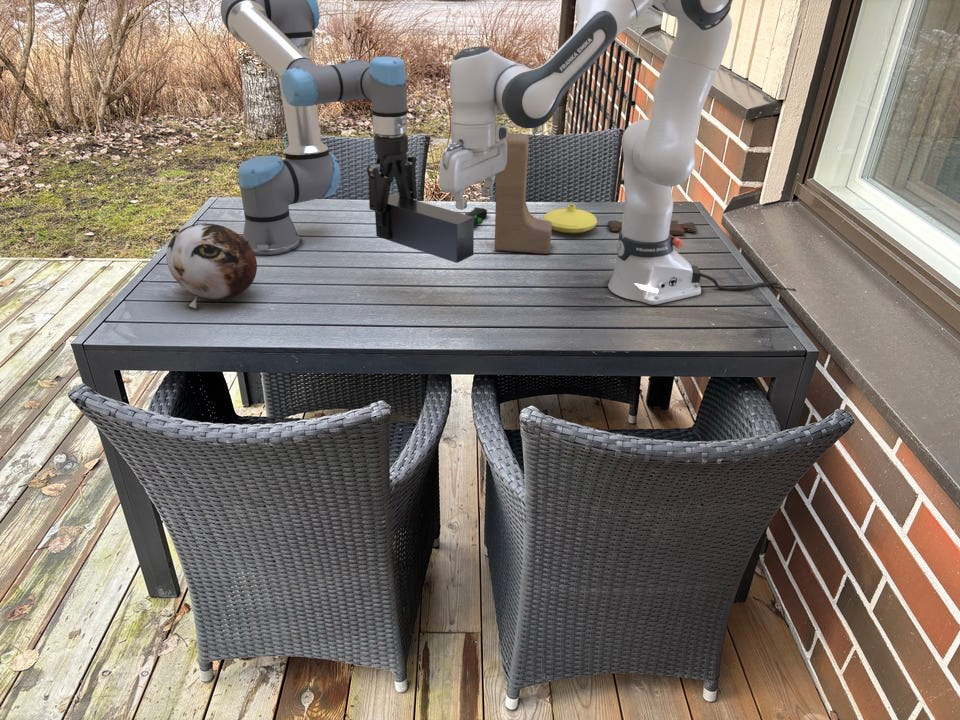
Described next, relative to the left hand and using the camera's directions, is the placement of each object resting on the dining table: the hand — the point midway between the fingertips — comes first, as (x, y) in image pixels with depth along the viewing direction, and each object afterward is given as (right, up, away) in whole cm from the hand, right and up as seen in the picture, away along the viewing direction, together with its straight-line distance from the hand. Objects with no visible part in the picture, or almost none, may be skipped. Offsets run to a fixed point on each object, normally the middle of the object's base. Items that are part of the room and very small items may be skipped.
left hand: (395, 233), depth 169 cm
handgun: (+14, +12, +47) cm, 51 cm away
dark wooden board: (+71, +9, +43) cm, 84 cm away
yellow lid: (+46, +9, +42) cm, 64 cm away
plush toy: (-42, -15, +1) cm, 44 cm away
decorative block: (+32, +1, +29) cm, 43 cm away
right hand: (+19, +3, -18) cm, 26 cm away
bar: (+7, -4, -4) cm, 9 cm away
